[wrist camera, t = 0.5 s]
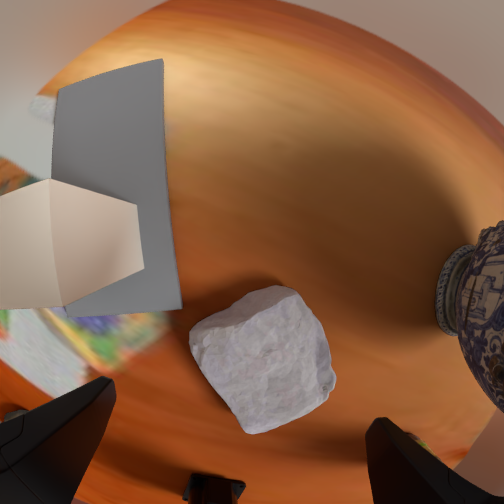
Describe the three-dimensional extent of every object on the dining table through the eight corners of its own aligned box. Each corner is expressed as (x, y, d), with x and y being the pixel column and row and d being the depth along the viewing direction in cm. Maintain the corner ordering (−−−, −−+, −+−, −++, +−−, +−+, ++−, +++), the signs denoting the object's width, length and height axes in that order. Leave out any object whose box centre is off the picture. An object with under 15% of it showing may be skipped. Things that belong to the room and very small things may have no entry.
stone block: (279, 269, 24) (178, 327, 22) (304, 274, 20) (180, 346, 17) (326, 369, 26) (243, 422, 24) (353, 387, 22) (258, 450, 19)
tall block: (144, 271, 21) (64, 313, 9) (81, 279, 20) (-17, 314, 8) (136, 204, 20) (49, 178, 8) (74, 217, 20) (-30, 208, 8)
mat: (183, 306, 22) (181, 308, 21) (71, 314, 21) (67, 317, 20) (163, 62, 20) (162, 58, 19) (62, 92, 19) (59, 89, 18)
